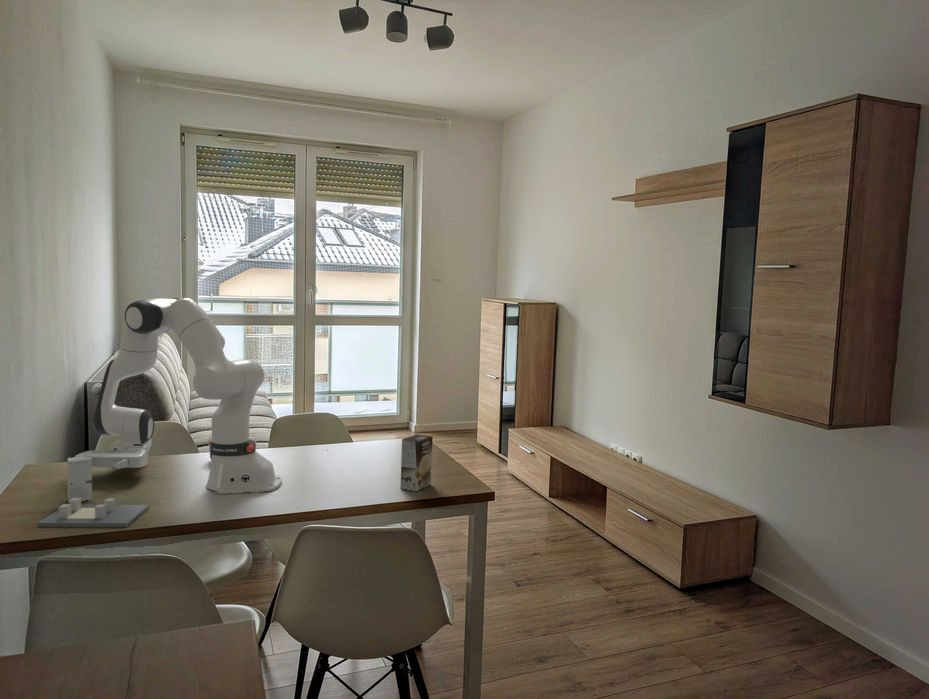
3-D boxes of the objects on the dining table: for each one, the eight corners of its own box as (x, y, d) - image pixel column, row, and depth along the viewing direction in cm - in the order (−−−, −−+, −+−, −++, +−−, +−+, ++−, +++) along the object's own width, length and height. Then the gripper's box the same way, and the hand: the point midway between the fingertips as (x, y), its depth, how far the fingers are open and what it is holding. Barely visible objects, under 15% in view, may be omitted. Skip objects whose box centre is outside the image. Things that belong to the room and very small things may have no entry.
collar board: (149, 508, 183) (148, 494, 182) (126, 527, 169) (126, 512, 168) (67, 507, 181) (66, 493, 181) (37, 526, 167) (37, 511, 167)
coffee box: (417, 492, 204) (418, 441, 202) (399, 489, 207) (401, 439, 205) (431, 484, 212) (433, 436, 210) (414, 481, 215) (415, 433, 213)
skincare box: (68, 503, 184) (66, 461, 183) (67, 498, 188) (66, 457, 187) (93, 500, 188) (92, 458, 187) (92, 495, 192) (91, 455, 190)
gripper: (86, 444, 211) (63, 455, 198) (152, 445, 213) (133, 456, 199) (87, 463, 212) (64, 476, 198) (152, 464, 213) (133, 476, 200)
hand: (99, 466), depth 199 cm, fingers open, 8 cm apart
